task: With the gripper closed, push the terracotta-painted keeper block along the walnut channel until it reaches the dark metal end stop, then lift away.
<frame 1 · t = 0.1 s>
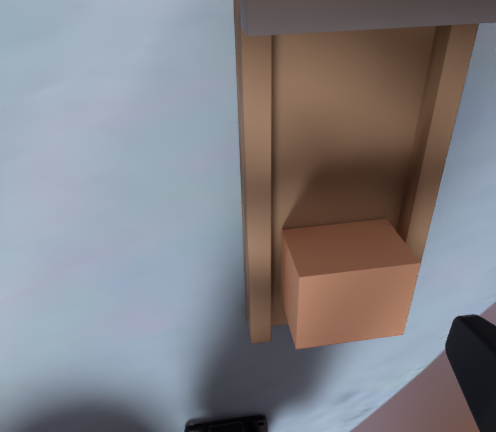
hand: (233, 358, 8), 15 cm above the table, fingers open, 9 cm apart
channel: (332, 174, 23), on the table
keeper: (342, 282, 24), point 3 cm above the table, slide at 0.0 cm
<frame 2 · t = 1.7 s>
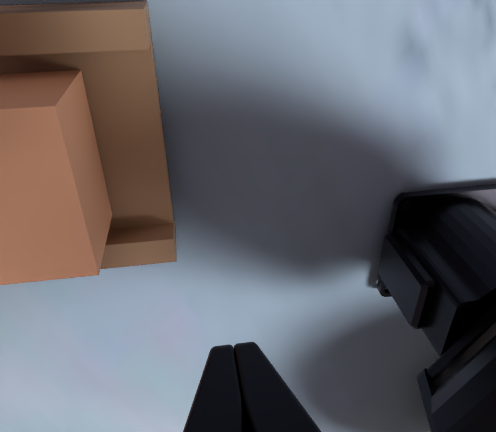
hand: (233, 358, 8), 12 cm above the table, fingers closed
keeper: (14, 177, 15), point 3 cm above the table, slide at 0.0 cm
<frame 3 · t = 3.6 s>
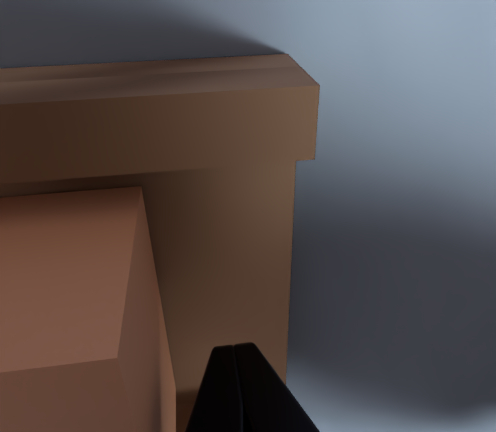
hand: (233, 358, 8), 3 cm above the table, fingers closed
keeper: (17, 397, 8), point 3 cm above the table, slide at 0.5 cm, touching gripper
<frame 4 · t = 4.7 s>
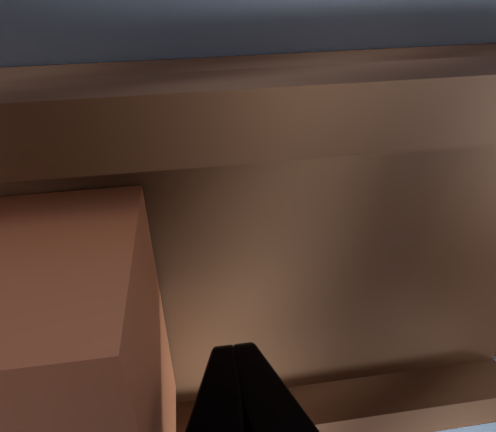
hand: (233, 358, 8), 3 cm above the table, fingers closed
channel: (133, 274, 11), on the table
keeper: (17, 396, 8), point 3 cm above the table, slide at 6.8 cm, touching gripper
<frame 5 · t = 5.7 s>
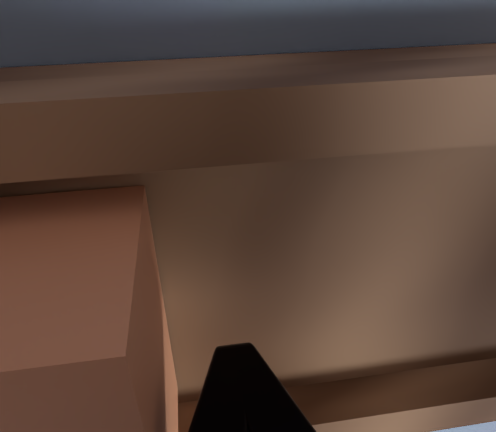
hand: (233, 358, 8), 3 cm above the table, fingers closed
channel: (277, 259, 11), on the table
keeper: (20, 397, 8), point 3 cm above the table, slide at 10.3 cm, touching gripper
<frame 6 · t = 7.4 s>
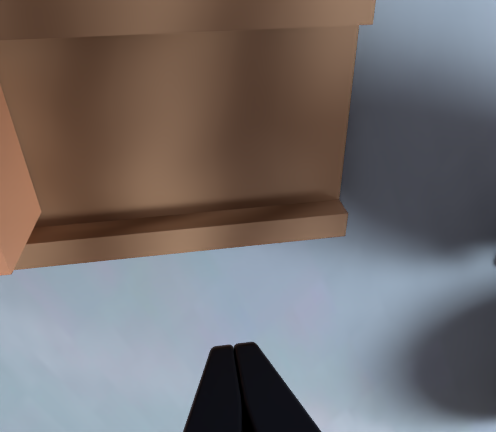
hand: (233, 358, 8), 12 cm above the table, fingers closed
channel: (101, 127, 17), on the table
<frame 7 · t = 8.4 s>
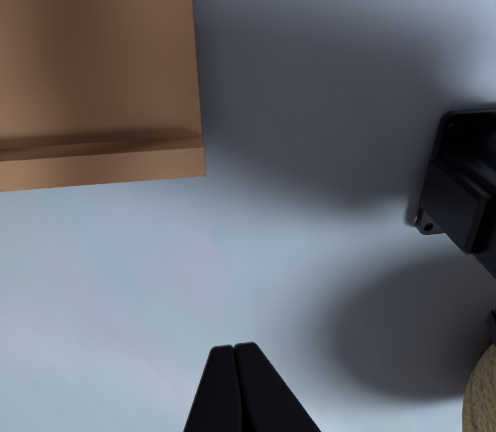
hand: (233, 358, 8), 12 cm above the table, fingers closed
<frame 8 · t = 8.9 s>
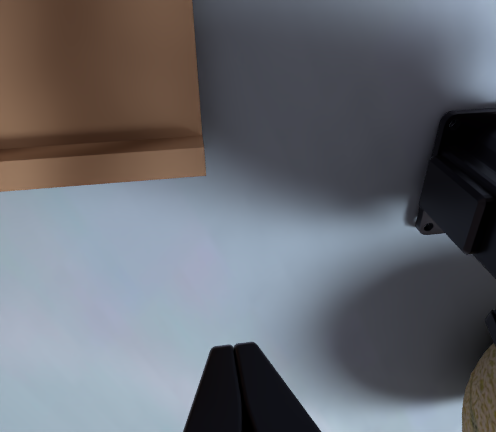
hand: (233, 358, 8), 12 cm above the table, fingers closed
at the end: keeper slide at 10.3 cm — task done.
